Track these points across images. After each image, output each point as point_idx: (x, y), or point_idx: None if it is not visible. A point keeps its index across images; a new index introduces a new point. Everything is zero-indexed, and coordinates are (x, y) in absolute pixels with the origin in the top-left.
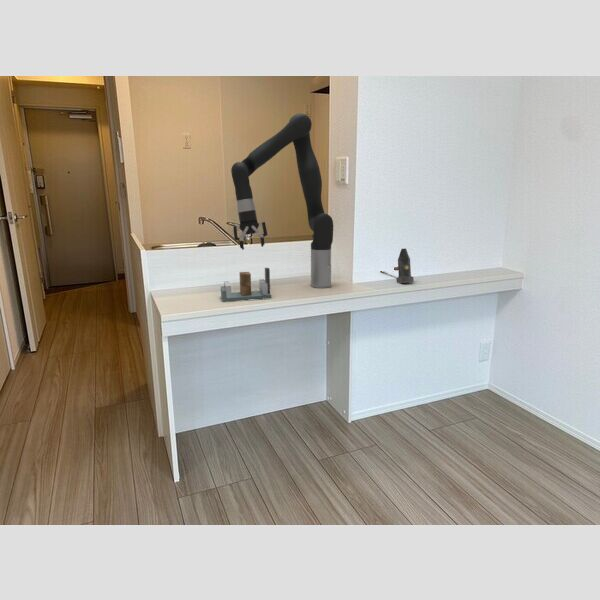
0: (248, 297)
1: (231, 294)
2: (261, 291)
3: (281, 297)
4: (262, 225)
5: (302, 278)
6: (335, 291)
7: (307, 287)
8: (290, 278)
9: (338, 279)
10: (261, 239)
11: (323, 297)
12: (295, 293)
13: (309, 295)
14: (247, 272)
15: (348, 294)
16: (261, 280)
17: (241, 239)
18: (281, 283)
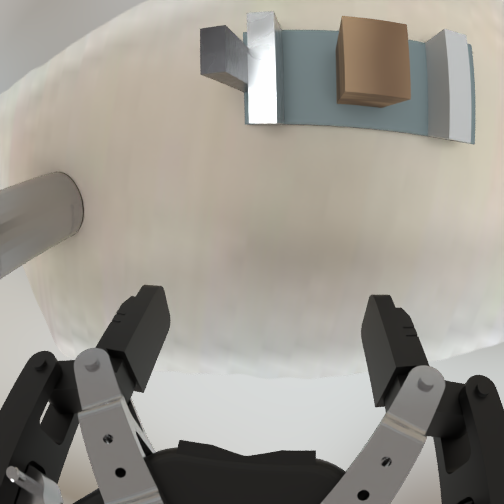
0: None
1: (422, 99)
2: (282, 65)
3: None
4: (7, 477)
5: (108, 323)
6: (38, 122)
7: (93, 193)
8: None
9: (31, 269)
10: (123, 337)
11: (77, 47)
12: (140, 106)
13: (104, 72)
14: (358, 68)
15: (24, 85)
16: (267, 90)
17: (416, 382)
18: (171, 285)
